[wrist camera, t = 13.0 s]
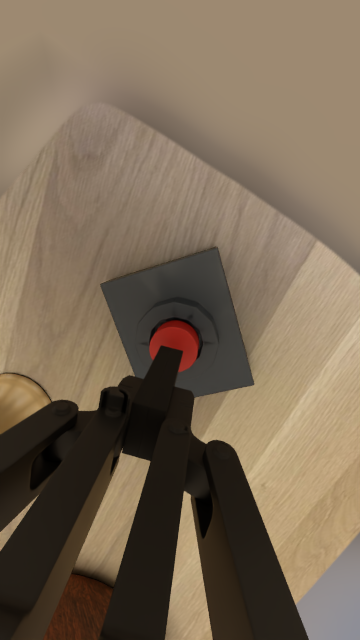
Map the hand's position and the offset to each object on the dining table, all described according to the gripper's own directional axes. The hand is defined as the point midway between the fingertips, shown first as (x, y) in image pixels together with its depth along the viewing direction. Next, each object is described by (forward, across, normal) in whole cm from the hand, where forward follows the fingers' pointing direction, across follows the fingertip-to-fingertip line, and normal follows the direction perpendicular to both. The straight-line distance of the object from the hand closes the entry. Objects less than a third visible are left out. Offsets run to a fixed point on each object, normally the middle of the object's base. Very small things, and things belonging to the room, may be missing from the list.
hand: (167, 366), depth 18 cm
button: (+4, 0, 0) cm, 4 cm away
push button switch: (+8, 0, 0) cm, 8 cm away
